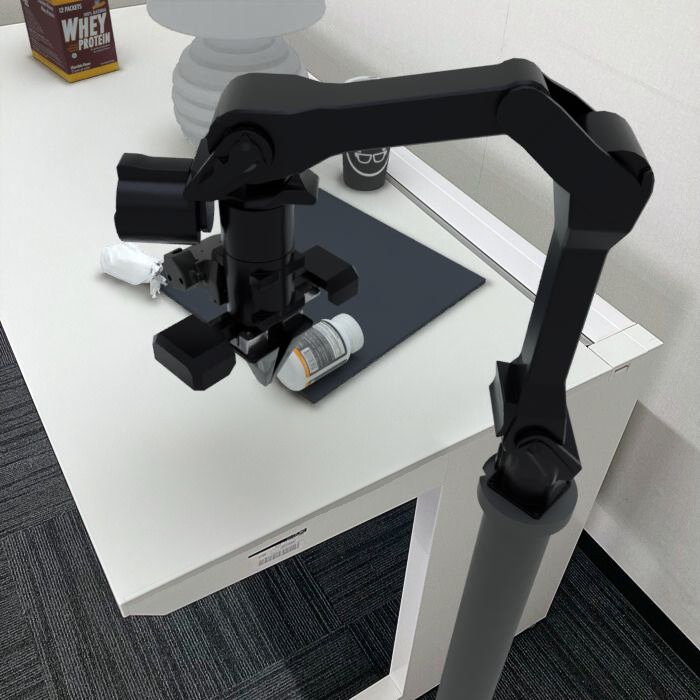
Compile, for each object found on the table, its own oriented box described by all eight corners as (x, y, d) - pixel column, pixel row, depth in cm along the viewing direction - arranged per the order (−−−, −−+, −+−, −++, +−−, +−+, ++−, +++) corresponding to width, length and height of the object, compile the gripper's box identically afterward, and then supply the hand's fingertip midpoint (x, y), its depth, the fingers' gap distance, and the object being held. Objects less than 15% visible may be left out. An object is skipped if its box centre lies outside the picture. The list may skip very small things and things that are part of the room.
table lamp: (249, 212, 116) (233, -93, 89) (132, 155, 127) (86, -132, 100) (354, 149, 131) (367, -128, 104) (241, 103, 142) (226, -158, 115)
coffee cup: (405, 175, 125) (414, 84, 115) (376, 202, 119) (382, 108, 109) (353, 158, 129) (357, 68, 119) (322, 183, 122) (323, 90, 112)
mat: (485, 282, 106) (486, 278, 105) (314, 403, 88) (314, 400, 87) (316, 189, 121) (316, 186, 121) (142, 276, 104) (141, 273, 103)
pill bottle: (265, 368, 90) (330, 331, 95) (297, 402, 88) (362, 362, 93) (270, 336, 86) (337, 299, 91) (304, 370, 83) (371, 330, 89)
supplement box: (70, 83, 145) (51, -5, 134) (32, 56, 153) (12, -30, 143) (120, 70, 150) (107, -17, 140) (81, 44, 159) (65, -40, 148)
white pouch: (179, 279, 104) (117, 245, 105) (171, 251, 98) (105, 216, 99) (157, 307, 102) (94, 272, 103) (148, 281, 96) (80, 244, 97)
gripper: (276, 164, 72) (279, 299, 82) (98, 246, 61) (128, 388, 72) (366, 213, 66) (358, 351, 77) (187, 312, 56) (206, 456, 66)
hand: (264, 382), depth 73 cm, fingers closed
